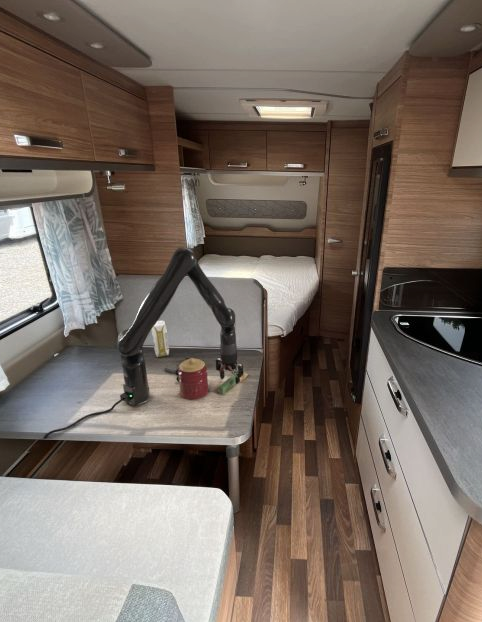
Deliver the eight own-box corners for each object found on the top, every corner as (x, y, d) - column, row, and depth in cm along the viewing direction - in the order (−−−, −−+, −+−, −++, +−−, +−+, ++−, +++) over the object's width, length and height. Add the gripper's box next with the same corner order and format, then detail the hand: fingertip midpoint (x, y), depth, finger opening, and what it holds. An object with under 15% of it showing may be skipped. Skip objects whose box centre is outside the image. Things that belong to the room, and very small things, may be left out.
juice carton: (168, 349, 196) (164, 319, 190) (170, 355, 189) (166, 325, 182) (154, 351, 194) (150, 321, 187) (155, 358, 186) (151, 327, 179)
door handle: (156, 372, 168) (182, 377, 162) (182, 355, 185) (206, 359, 179) (157, 378, 169) (183, 383, 163) (183, 360, 186) (207, 364, 180)
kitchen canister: (212, 395, 155) (209, 361, 148) (183, 402, 149) (179, 368, 143) (204, 381, 165) (201, 349, 159) (177, 388, 160) (173, 355, 153)
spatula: (225, 395, 155) (225, 389, 154) (216, 392, 157) (215, 386, 156) (247, 375, 171) (247, 369, 170) (238, 373, 173) (238, 367, 172)
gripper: (211, 350, 155) (213, 380, 161) (236, 357, 150) (238, 388, 155) (221, 344, 162) (222, 373, 167) (246, 350, 156) (246, 380, 162)
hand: (230, 380), depth 161 cm, fingers open, 8 cm apart
